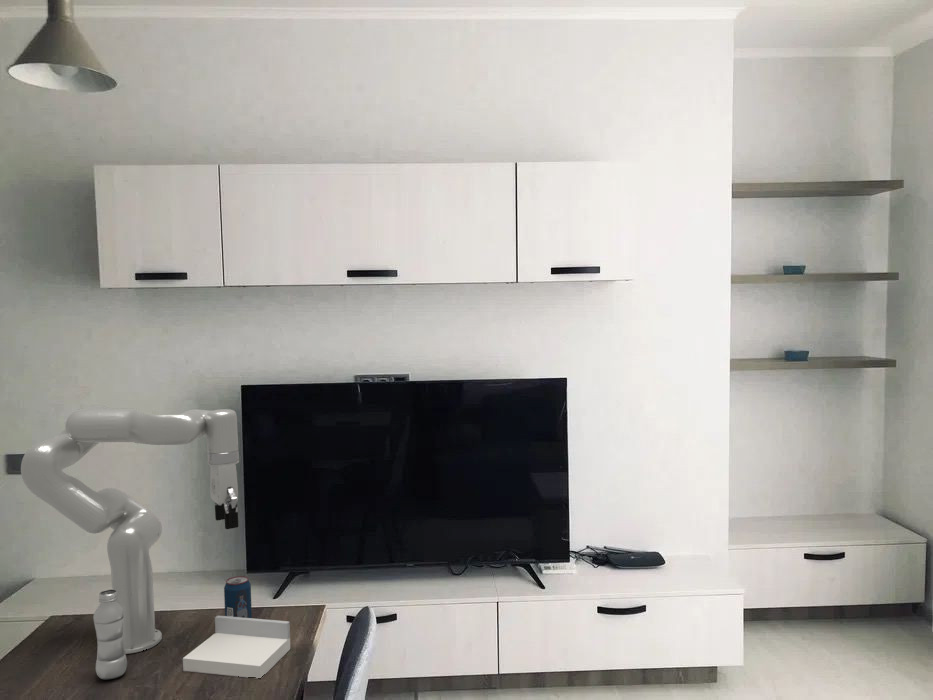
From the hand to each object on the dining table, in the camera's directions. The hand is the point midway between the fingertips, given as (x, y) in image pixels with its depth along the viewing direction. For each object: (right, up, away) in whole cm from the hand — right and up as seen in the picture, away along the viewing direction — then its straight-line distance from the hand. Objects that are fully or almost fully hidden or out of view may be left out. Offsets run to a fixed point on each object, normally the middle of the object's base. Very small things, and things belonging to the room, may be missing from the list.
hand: (226, 523), depth 185 cm
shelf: (+6, -31, -10) cm, 33 cm away
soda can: (0, -30, +10) cm, 32 cm away
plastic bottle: (-21, -32, -18) cm, 42 cm away
